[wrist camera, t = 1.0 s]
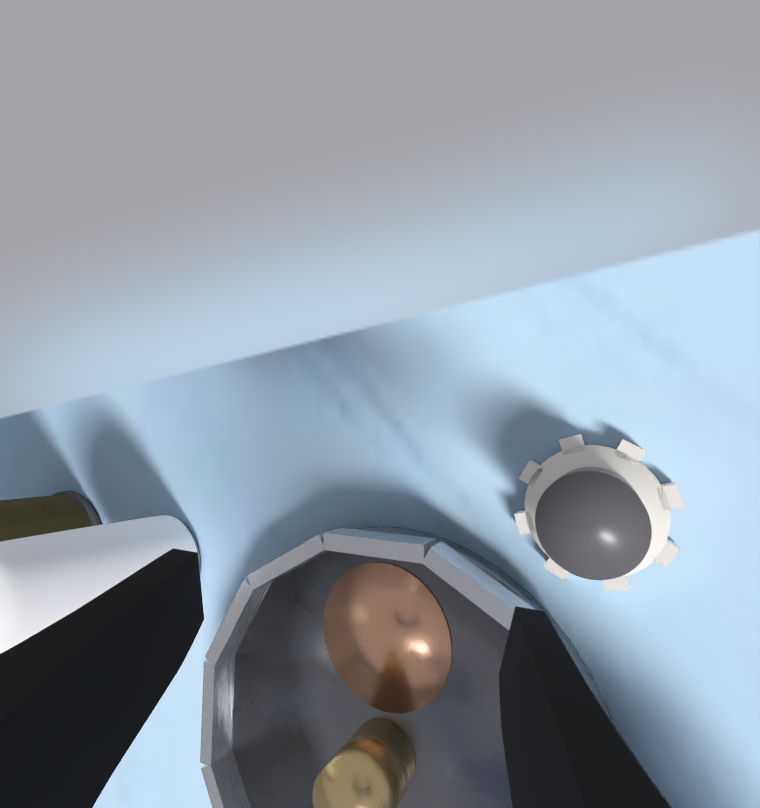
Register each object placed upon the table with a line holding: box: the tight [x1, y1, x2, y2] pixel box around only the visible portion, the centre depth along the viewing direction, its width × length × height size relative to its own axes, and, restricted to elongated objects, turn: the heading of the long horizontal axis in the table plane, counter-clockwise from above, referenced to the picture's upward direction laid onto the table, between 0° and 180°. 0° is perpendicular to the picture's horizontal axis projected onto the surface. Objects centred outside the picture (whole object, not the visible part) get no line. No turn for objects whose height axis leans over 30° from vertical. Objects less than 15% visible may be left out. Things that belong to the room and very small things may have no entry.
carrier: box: [200, 527, 613, 808], centre depth 20 cm, size 21×21×5 cm
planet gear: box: [514, 434, 684, 592], centre depth 17 cm, size 6×6×4 cm
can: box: [0, 515, 200, 654], centre depth 25 cm, size 6×6×12 cm
